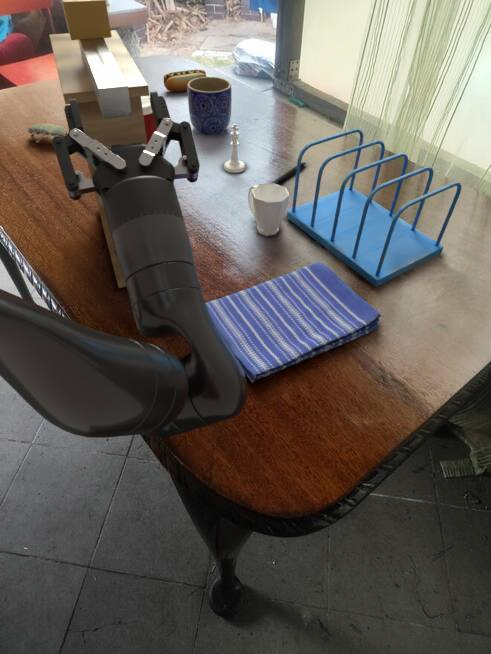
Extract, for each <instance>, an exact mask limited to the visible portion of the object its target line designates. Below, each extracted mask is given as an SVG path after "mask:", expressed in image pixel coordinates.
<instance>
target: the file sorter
mask: <svg viewBox="0 0 491 654" xmlns="http://www.w3.org/2000/svg"><path fill="white" fill-rule="evenodd" d="M356 133H358V134H359V142H358V146H354V147H351V148H349V149H346V150H342V151H340V152H337V153H334V154H331V155H330V156H328V157H327V158H326V159H325V160H324V161H323V162H322V164H321V165H320V167H319V170H318V173H317V180H316V186H315V192H314V199H313V200H311V201H308V202H306V203H303V204H300V205H298V206H297V201H298V200H297V199H298V190H299V181H300V174H301V169H300V166H301V163H302V159H303V157H304V155H305V153H306V152H307V151H308V150H309V149H310V148H312V147H314V146H317V145H320V144H323V143H326V142H329V141H332V140H335V139H338V138H341V137H345V136H349V135H352V134H356ZM363 143H364V133H363V131H362V130H361V129H359V128H354V129H350V130H346V131H344V132H343V131H342V132H340V133H337V134H333V135H330V136H327V137H324V138H320V139H318V140H317V139H316V140H314V141H312V142H309V143H308V144H306V145H305V146H304V147H303V148H302V149H301V150H300V153H299V155H298V157H297V164H296V166H297V170H296V172H295V179H294V187H293V188H294V190H293V196H292V207H291V208H290V209H287V211H286V212H287V213H286V218H287V219H288V220H289V221H291V222H292V223H293V224H295V225H296V226H297V227H299V229H301V230H302V231H304V233H306V234H307V235H308V236H309V237H311V238H312V239H314V240H315V241H316V242H318V243H319V244H320V245H322V246H323V248H325V249H326V250H328V251H329V252H330V253H331V254H333V255H334V256H335V257H336V258H337V259H339V260H340V261H342V262H343V263H344V264H346V265H347V266H348V267H349V268H351V269H352V270H353V271H355V272H356V273H357V274H358V275H359V276H361V277H362V278H363V279H365V280H366V281H367V282H368V283H369V284H371V285H372V286H373V287H375V288H376V287H379V286H381V285H382V284H385V283H386V282H389V281H390V280H392V279H395V278H396V277H398V276H401V275H402V274H404V273H405V272H408V271H410V270H412V269H413V268H415V267H418V266H419V265H421V264H423V263H425V262H427V261H429V260H431V259H433V258H436V257H437V256H439V255H441V254H442V252H443V249H444V245H443V244H442V243H441V242H442V238H443V237H444V234H445V231H446V230H447V226H448V225H449V222H450V219H451V217H452V215H453V212H454V209H455V207H456V205H457V202H458V200H459V197H460V195H461V192H462V184H461V182H458V181H453V182H451V183H449V184H447V185H444V186H441V187H439V188H437V189H434V190H433V191H430V192H429V190H430V187H431V184H432V181H433V177H434V169H433V168H432V167H431V166H423V167H421V168H419V169H416V170H414V171H411V172H408V173H406V171H407V168H408V164H409V157H408V155H407V154H406V153H404V152H400V153H396V154H394V155H391V156H388V157H385V158H384V156H385V152H386V151H385V150H386V146H385V145H386V144H385V143H384V142H383V141H382V140H379V139H378V140H374V141H370V142H367V143H364V144H363ZM375 145H380V146H381V148H380V155H379V159H378V160H377V161H374V162H372V163H368V164H366V165H363V166H361V167H358V165H359V161H360V157H361V153H362V150H363V149H366V148H369V147H373V146H375ZM354 152H356V156H355V161H354V165H353V166H354V167H353V169H352V171H350V172H349V173H348V174H347V175H346V176H345V178H344V179H343V181H342V183H341V185H340V189H339V190H337V191H334V192H332V193H329V194H326V195H324V196H322V197H319V195H320V190H321V181H322V178H323V172H324V171H325V168H326V166H327V165H328V164H329V162H331V161H332V160H334V159H337V158H340V157H343V156H346V155H349V154H352V153H354ZM399 158H403V159H404V161H403V166H402V169H401V172H400V176H399V177H396V178H394V179H391V180H389V181H386V182H383V183H381V184H379V185H377V183H378V179H379V176H380V172H381V168H382V165H383V164H385V163H388V162H391V161H394V160H397V159H399ZM374 167H376V171H375V175H374V179H373V183H372V187H371V191H370V193H369V194H368V196H366V195H364V194H363V193H362V192H360V191H359V190H357V189H355V188H354V185H355V183H354V182H355V178H356V174H359V173H361V172H364V171H367V170H369V169H371V168H374ZM427 171H428V172H429V173H428V179H427V181H426V184H425V187H424V190H423V193H422V195H421V196H419V197H416V198H414V199H412V200H409V201H408V202H406V203H405V204H403V205H402V206H401V207H400V208H399V209H398V210H397V211H396V212H395V214H394V211H395V208H396V205H397V201H398V199H399V195H400V191H401V189H402V186H403V185H402V184H403V181H404V180H407V179H410V178H412V177H414V176H417V175H420V174H422V173H424V172H427ZM349 180H350V183H349V186H347V183H348V182H349ZM395 184H397V186H396V191H395V194H394V197H393V200H392V204H391V207H390V211H389V210H388V209H387V208H385V207H384V206H382V205H380V204H379V203H377V202H375V200H373V198H374V196H375V195H376V194H377V193H378V192H379V191H381V190H383V189H385V188H387V187H389V186H391V185H395ZM346 186H347V187H346ZM454 187H456V191H455V195H454V196H453V199H452V202H451V205H450V207H449V209H448V211H447V213H446V214H447V215H446V216H445V219H444V222H443V224H442V227H441V229H440V232H439V234H438V236H437V240H435V239H434V238H432V237H430V236H429V235H427V234H425V233H424V232H422V230H420V229H417V225H418V221H419V220H420V219H419V218H420V216H421V213H422V211H423V207H424V205H425V201H426V200H427V199H429V198H431V197H433V196H436V195H438V194H441V193H443V192H444V191H447V190H450V189H451V188H454ZM418 203H419V205H418V208H417V211H416V214H415V216H414V220H413V223H412V224H410V223H409V222H407V221H405V220H404V219H402V218H401V217H400V216H401V215H402V214H403V212H404V211H405V210H406V209H408V208H409V207H411V206H413V205H416V204H418Z"/></svg>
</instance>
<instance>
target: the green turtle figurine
mask: <svg viewBox="0 0 491 654" xmlns="http://www.w3.org/2000/svg"><path fill="white" fill-rule="evenodd" d="M27 132H28V133H29V134H31V135H30V137H31V139H29V141H31V142H32V141H33V140H34V138H35V135H37V136H41V135H42V136H41V137H40V138H39V139H37V140H35V143H40V142H41V140H42V139H43V138H46V137H51V140H52V139H53V138H54V137H56V136H61V137H64V136H66V135H67V134H68V132H67V129H66V128H65V127H63V125H59V124H57V123H47V122H46V123H45V122H44V123H43V122H35V123H33V124H31V125H30V126H29V127H28V130H27Z"/></svg>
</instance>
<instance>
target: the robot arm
mask: <svg viewBox="0 0 491 654" xmlns="http://www.w3.org/2000/svg"><path fill="white" fill-rule="evenodd" d="M149 97H150V104H151V109H152V112H153V116H154V119H155V123H156V126H157V131H156V132H154V133H153V135H152V137H151V139H150V141H149V143H148V144H147V145H146V144H142V142H134V143H131V144H129V145H120V144H118V145H111V146H112V148H110V149H107V148H106V147H105V146H103V145H102V144H101V143H99V142H98V141H97V140H95V139H93V140H92V139H91V138H89V137H88V136H87V135H86V134H84V131H83V126H82V122H81V118H80V114H79V110H78V106H77V102H76V99H70V100H69V102H70V104H65V105H64V114H65V115H64V116H65V118H66V119H65V120H66V123H67V127H68V128H67V129H68V132H67V135H66V136H64V137H61V136H56V137H54V138H53V139H52V138H51V142H52V146H53V150H54V153H55V155H56V158H57V163H58V165H59V169H60V172H61V175H62V178H63V182H64V186H65V189H66V191H67V193H68V196H69V198H70V199H71V200H72V201H79V200H80V199H82V195H85V194H90V193H95V191H96V192H97V193H98V194H99V195H100V196H101V198H102V201H103V205H104V209H105V213H106V217H107V221H108V225H109V229H110V233H111V237H112V241H113V245H114V246H113V249H114V253H115V255H116V257H117V261H118V264H119V267H120V270H121V272H122V274H123V277H124V280H125V283H126V286H127V287H126V290H127V294H128V298H129V302H130V307H131V310H132V314H133V318H134V322H135V325H136V327H137V328H136V329H138V331H139V333H140V334H141V335H142V336H144V337H146V338H148V339H154V340H155V339H157V340H158V339H159V340H160V339H161V340H162V339H169V338H177V337H181V338H182V339H183V340H184V341H185V342H186V344H187V345H188V347H189V350H190V352H189V353H186V354H183V355H181V356H176V354H174V353H173V352H171V351H170V350H167V349H166V348H165V347H161V346H159V345H156V344H152V343H148V342H144V341H140V340H136V339H132V338H128V337H124V336H119V335H115V334H111V333H108V332H104V331H100V330H97V329H95V328H92V327H89V326H87V325H84V324H82V323H79V322H77V321H75V320H72V319H71V318H68V317H65V316H63V315H61V314H59V313H57V312H54V311H53V310H51V309H48V308H47V307H44V306H42V305H40V304H37V303H35V302H32V301H30V300H28V299H25V298H23V297H21V296H18V295H16V294H13V293H11V292H9V291H7V290H4V289H2V288H0V377H1V378H2V379H3V381H5V382H6V383H7V384H8V385H9V386H10V387H11V388H12V389H13V390H14V391H15V392H16V393H17V394H18V395H19V396H20V397H21V399H23V400H24V401H25V402H26V403H27V404H28V405H29V406H30V407H31V408H32V409H33V410H34V411H35V412H36V413H38V415H40V416H41V417H42V418H43V419H44V420H46V421H47V422H48V423H50V424H51V425H53V426H55V427H57V428H58V429H60V430H62V431H64V432H67V433H69V434H71V435H75V436H79V437H84V438H91V439H93V438H94V439H95V438H96V439H100V438H101V439H103V438H104V439H107V438H116V437H117V438H118V437H127V436H129V437H130V436H137V435H142V436H146V437H148V438H154V439H160V438H161V439H162V438H168V437H174V436H178V435H181V434H185V433H188V432H192V431H195V430H199V429H202V428H206V427H209V426H211V425H215V424H218V423H223V422H225V421H229V420H232V419H233V418H235V417H237V416H238V415H240V414H241V412H242V411H243V409H244V408H245V405H246V403H247V399H248V391H249V390H248V388H249V387H248V380H247V378H246V377H247V376H246V374H245V373H244V371H243V369H242V367H241V365H240V364H239V362H238V360H237V359H236V357H235V355H234V354H233V352H232V351H231V349H230V348H229V346H228V345H227V343H226V342H225V340H224V338H223V337H222V335H221V333H220V332H219V330H218V328H217V326H216V324H215V322H214V320H213V318H212V317H211V315H210V313H209V310H208V308H207V306H206V304H205V303H206V301H205V297H204V294H203V291H202V288H201V284H200V281H199V277H198V274H197V270H196V267H195V262H194V256H193V248H192V244H191V240H190V237H189V232H188V229H187V226H186V222H185V218H184V214H183V212H182V209H181V205H180V202H179V201H180V200H179V198H178V195H177V190H176V187H175V183H174V182H175V180H181V179H186V180H187V181H188V182H189V183H196V182H197V181H198V180H199V179H198V178H199V172H200V164H201V163H200V160H199V156H198V152H197V148H196V147H197V146H196V144H195V143H196V142H195V139H194V134H193V130H192V124H190V122H188V121H186V120H183V121H181V122H176V121H173V119H172V118H171V115H170V111H169V108H168V105H167V101H166V98H164V96H163V95H159V93H158V91H157V90H153V91H149ZM172 141H175V142H178V145H179V150H180V155H181V156H180V157H179V158H178V163H177V165H176V166H174V165H173V164H172V163H171V162H170V161H168V159H166V158H165V156H166V151H167V149H168V148H169V145H170V144H171V142H172ZM74 154H77V155H79V156H80V157H81V158H82V159H84V160H85V161H86V162H87V161H88V163H89V164H90V165H91V166H92V167H93V168H94V169H95V170H96V171H95V172H94V174H93V177H92V179H91V178H88V177H86V175H85V174H84V172H82V171H80V170H75V169H74V166H73V163H72V158H71V156H72V155H74Z"/></svg>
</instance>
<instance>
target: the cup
mask: <svg viewBox="0 0 491 654" xmlns="http://www.w3.org/2000/svg"><path fill="white" fill-rule="evenodd" d="M290 196H291V195H290V192H289V190H288V189H287V187H286V186H283V185H280V184H275V183H272V182H270V183H269V182H268V183H259V184H258V185H253V186H251V187H250V188H249V190H248V193H247V201H248V207H249V208H250V211H251V213H252V215H253V217H254V219H255V222H256V229H257V232H258V234H260V235H262V236H265V237H268V236H269V237H270V236H275V235H276V234H277V233H279V232H280V226H281V225H282V222H283V220H284V218H285V214H286V210H287V206H288V202H289V199H290Z"/></svg>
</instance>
